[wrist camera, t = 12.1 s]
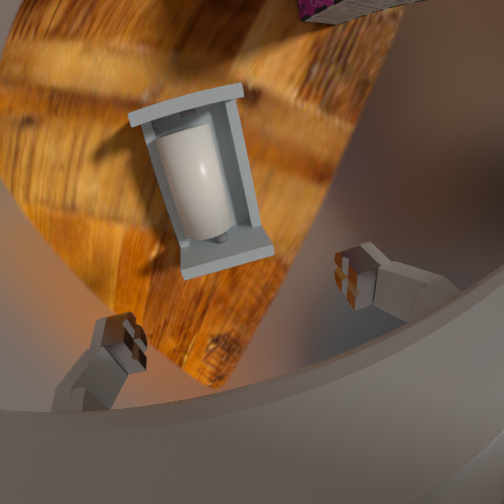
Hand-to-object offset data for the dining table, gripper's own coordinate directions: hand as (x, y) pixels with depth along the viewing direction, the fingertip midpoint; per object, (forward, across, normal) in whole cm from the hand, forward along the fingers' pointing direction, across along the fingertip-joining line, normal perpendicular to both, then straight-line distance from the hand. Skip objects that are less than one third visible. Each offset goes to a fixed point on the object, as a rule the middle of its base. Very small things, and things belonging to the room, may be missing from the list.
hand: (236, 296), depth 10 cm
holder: (+21, 0, +1) cm, 21 cm away
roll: (+20, 0, 0) cm, 20 cm away
